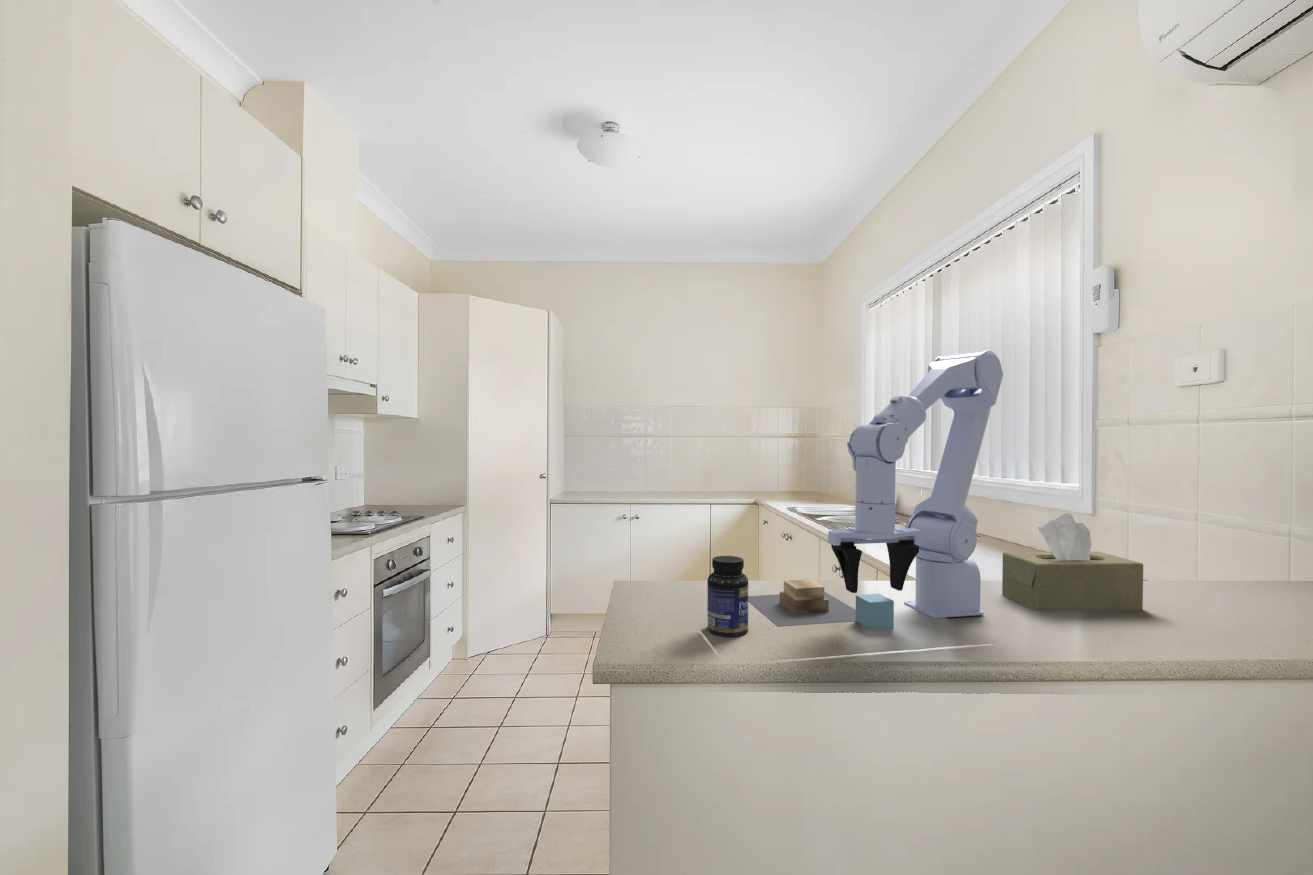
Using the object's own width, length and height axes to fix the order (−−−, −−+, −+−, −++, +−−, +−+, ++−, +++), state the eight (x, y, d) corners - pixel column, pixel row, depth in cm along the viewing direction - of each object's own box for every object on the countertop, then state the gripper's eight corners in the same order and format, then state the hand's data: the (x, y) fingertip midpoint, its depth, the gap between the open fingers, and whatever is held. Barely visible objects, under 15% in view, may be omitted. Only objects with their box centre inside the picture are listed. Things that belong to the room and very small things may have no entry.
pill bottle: (747, 640, 84) (747, 564, 84) (705, 637, 85) (705, 562, 85) (749, 626, 90) (749, 555, 90) (709, 623, 91) (709, 553, 91)
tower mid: (810, 590, 101) (810, 579, 101) (824, 599, 97) (824, 587, 97) (783, 592, 101) (783, 580, 100) (796, 600, 96) (796, 588, 96)
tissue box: (1099, 594, 108) (1100, 509, 108) (1145, 611, 98) (1146, 517, 98) (1000, 595, 108) (1000, 509, 107) (1036, 612, 98) (1037, 518, 98)
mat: (824, 593, 108) (824, 591, 108) (872, 621, 92) (872, 619, 92) (742, 598, 105) (742, 596, 105) (777, 628, 89) (777, 626, 89)
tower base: (811, 601, 102) (812, 589, 102) (828, 611, 96) (828, 599, 96) (779, 603, 101) (779, 591, 101) (794, 614, 95) (794, 601, 95)
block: (878, 621, 92) (878, 593, 92) (893, 630, 89) (893, 601, 88) (855, 623, 92) (855, 595, 92) (869, 632, 88) (869, 602, 88)
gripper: (901, 498, 95) (900, 581, 95) (819, 499, 92) (818, 585, 93) (930, 503, 88) (928, 593, 88) (841, 505, 85) (840, 598, 86)
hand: (874, 590), depth 90 cm, fingers open, 7 cm apart
